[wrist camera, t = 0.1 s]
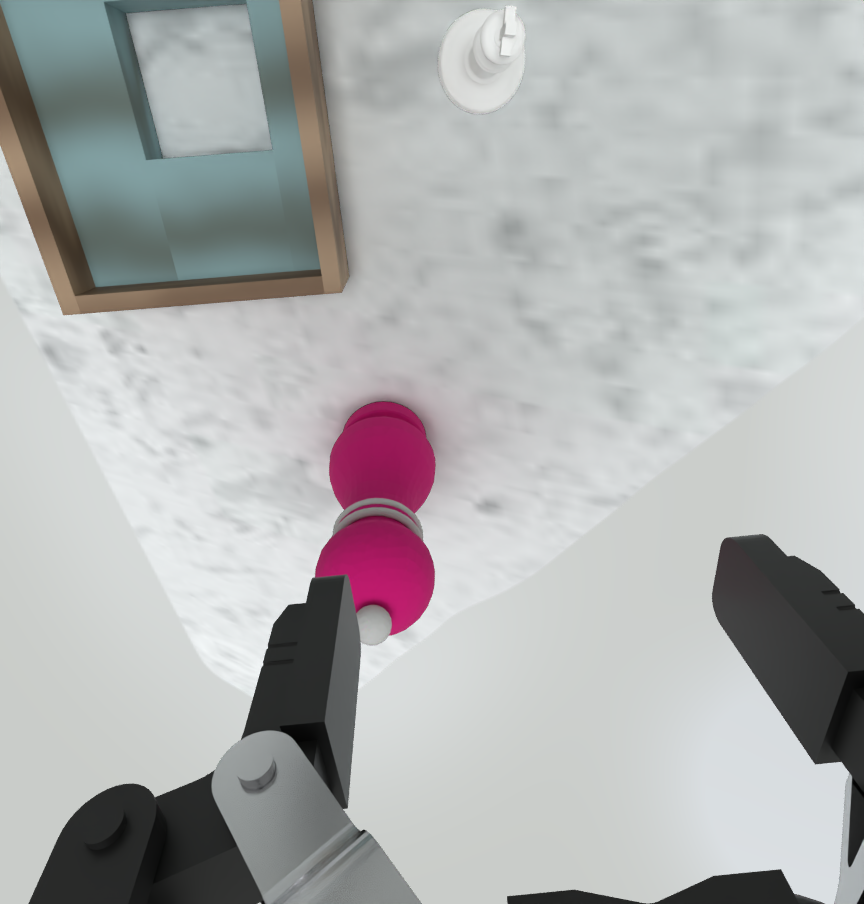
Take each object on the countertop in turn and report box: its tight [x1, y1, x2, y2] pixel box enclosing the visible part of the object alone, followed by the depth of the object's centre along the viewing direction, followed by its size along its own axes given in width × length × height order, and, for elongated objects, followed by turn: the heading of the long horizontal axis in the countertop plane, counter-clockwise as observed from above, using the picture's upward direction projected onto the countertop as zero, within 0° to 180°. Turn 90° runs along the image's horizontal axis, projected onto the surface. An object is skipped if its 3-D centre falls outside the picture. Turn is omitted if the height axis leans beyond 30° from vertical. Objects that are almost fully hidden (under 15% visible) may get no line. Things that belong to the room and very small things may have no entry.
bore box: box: [0, 0, 349, 315], centre depth 30 cm, size 22×16×5 cm
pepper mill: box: [315, 402, 435, 646], centre depth 34 cm, size 7×7×20 cm
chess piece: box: [438, 6, 526, 114], centre depth 28 cm, size 5×5×10 cm
